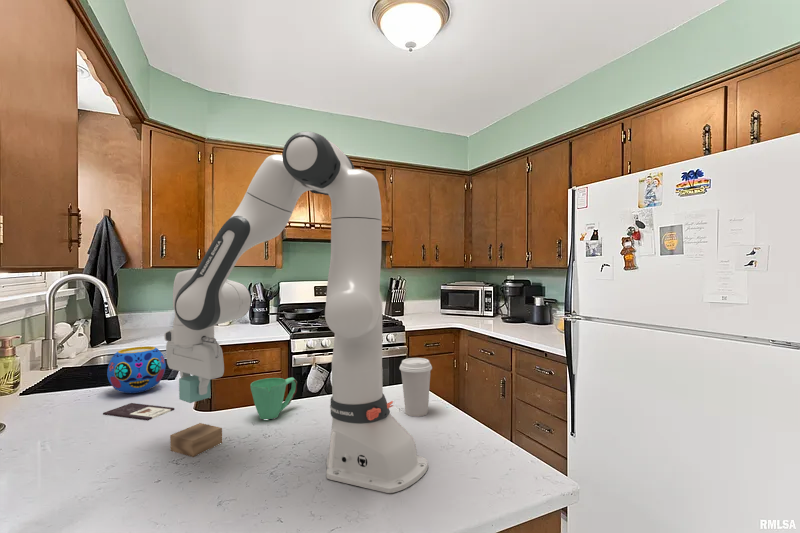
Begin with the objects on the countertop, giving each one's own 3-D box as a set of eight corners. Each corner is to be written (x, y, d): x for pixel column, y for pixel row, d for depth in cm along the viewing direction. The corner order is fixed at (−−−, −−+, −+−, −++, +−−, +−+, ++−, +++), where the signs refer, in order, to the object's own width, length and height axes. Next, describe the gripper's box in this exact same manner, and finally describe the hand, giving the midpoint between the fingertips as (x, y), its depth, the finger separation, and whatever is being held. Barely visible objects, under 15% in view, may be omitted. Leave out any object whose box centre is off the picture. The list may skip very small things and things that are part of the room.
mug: (265, 426, 109) (264, 389, 109) (244, 419, 115) (243, 384, 115) (307, 410, 121) (306, 377, 121) (286, 404, 126) (285, 372, 126)
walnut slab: (222, 444, 99) (222, 427, 99) (193, 458, 92) (192, 440, 92) (200, 438, 103) (200, 422, 103) (170, 451, 96) (170, 435, 96)
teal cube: (210, 397, 98) (210, 376, 98) (190, 403, 94) (189, 381, 94) (199, 393, 101) (199, 373, 101) (179, 399, 97) (179, 378, 97)
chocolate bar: (131, 402, 129) (174, 407, 124) (131, 405, 129) (174, 410, 124) (102, 412, 121) (147, 418, 115) (102, 416, 121) (147, 422, 115)
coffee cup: (396, 417, 113) (395, 364, 113) (404, 405, 122) (403, 356, 122) (430, 419, 111) (429, 365, 111) (435, 407, 120) (434, 357, 120)
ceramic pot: (108, 403, 131) (106, 357, 131) (107, 390, 146) (106, 349, 146) (169, 392, 142) (168, 349, 142) (163, 381, 156) (162, 342, 156)
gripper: (230, 336, 94) (231, 395, 94) (186, 329, 106) (187, 382, 106) (204, 340, 89) (205, 403, 89) (160, 333, 101) (161, 388, 101)
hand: (195, 391), depth 97 cm, fingers closed on teal cube, 5 cm apart
